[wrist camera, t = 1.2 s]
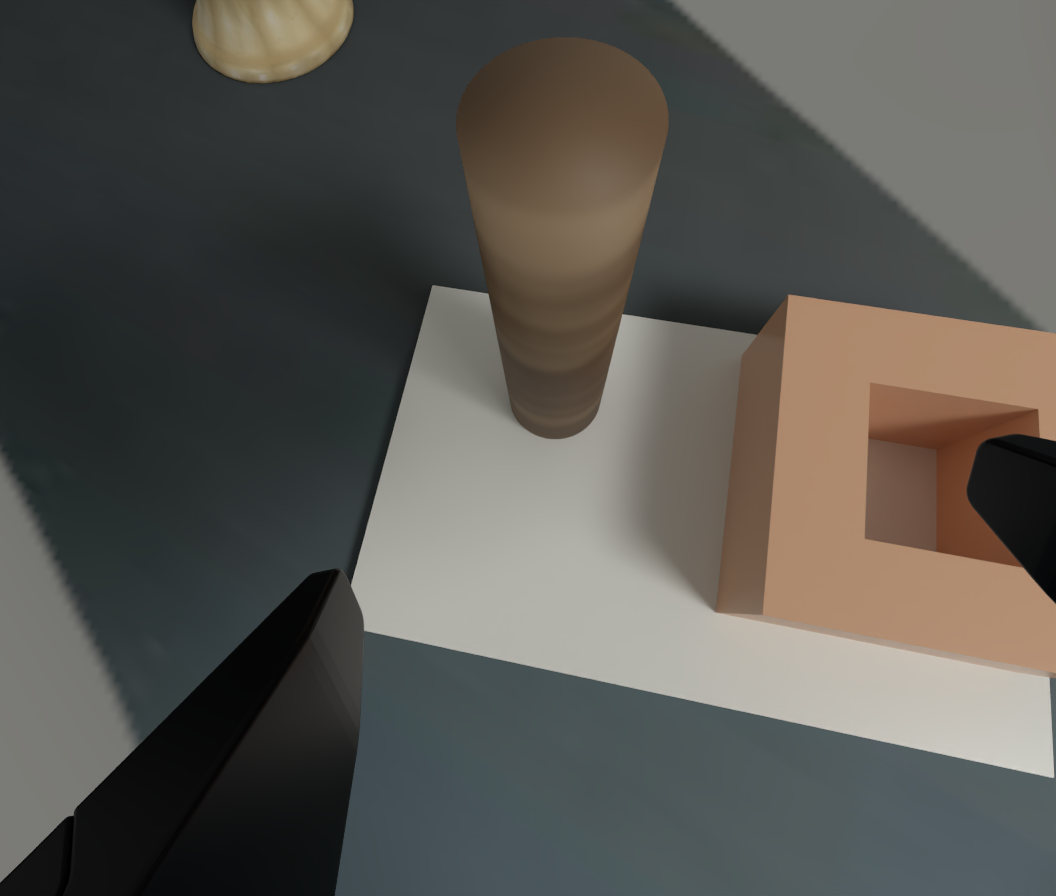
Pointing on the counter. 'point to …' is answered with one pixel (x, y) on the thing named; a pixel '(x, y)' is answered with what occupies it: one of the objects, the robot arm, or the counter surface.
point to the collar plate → (640, 546)
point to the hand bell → (269, 36)
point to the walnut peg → (560, 213)
